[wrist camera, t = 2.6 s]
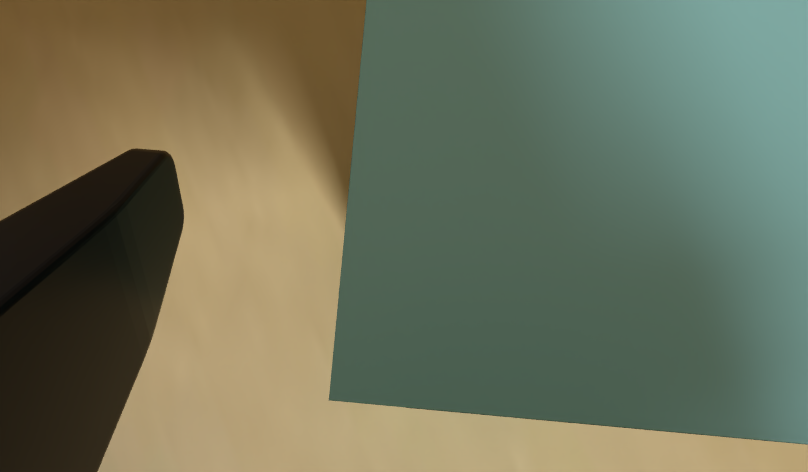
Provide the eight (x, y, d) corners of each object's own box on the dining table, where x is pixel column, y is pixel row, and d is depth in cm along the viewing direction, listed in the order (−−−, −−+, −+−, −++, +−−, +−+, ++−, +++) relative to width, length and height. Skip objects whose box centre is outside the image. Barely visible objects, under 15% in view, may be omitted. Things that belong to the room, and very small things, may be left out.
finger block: (583, 346, 16) (1104, 500, 4) (398, 329, 16) (326, 429, 4) (593, 179, 16) (1108, -176, 4) (412, 164, 16) (386, -223, 4)
